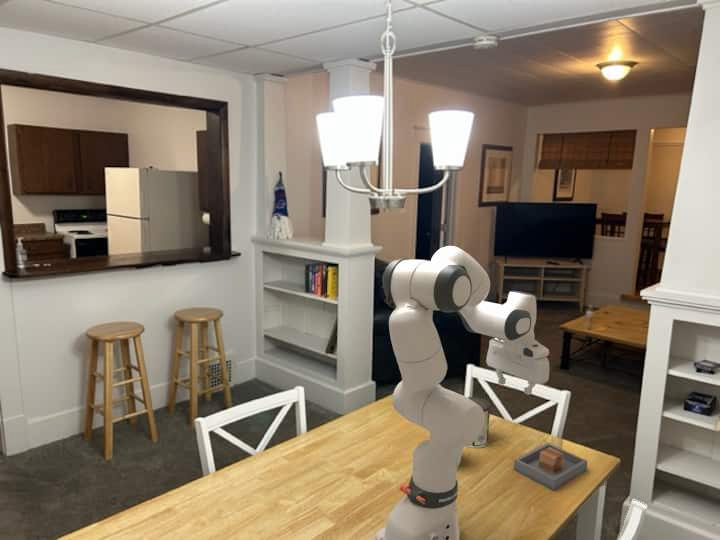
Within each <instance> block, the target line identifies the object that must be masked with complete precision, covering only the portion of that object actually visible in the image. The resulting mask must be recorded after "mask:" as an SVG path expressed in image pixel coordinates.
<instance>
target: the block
mask: <svg viewBox="0 0 720 540" xmlns="http://www.w3.org/2000/svg"><path fill="white" fill-rule="evenodd" d="M562 465H563V453H561V452H558V451H556V450H554V449H552V448H550V447H549V448H547V449H545V450H543V451H541V452H540V457H539V467H540V468H542V469H544V470H546V471H548V472H550V473H552V474H554V473H555V472H557V471H559V470H561V469H562Z"/></svg>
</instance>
